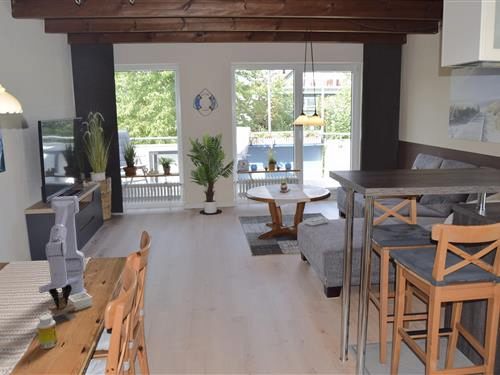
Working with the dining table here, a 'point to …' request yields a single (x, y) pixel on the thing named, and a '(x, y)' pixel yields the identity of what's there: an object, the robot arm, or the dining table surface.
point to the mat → (63, 316)
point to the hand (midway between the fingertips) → (61, 305)
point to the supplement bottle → (47, 332)
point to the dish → (81, 300)
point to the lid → (61, 307)
